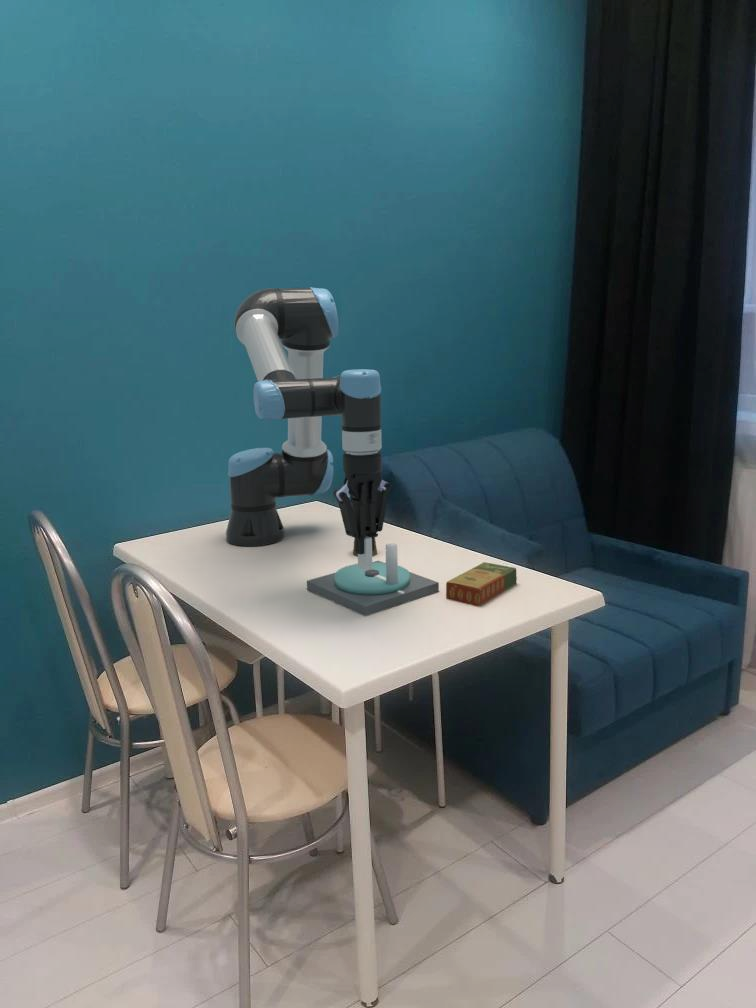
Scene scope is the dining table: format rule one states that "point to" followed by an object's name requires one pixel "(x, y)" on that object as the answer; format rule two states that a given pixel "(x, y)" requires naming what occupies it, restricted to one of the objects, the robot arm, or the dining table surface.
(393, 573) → the dial
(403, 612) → the dining table surface
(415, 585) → the base plate
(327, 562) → the dining table surface
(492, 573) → the carton
